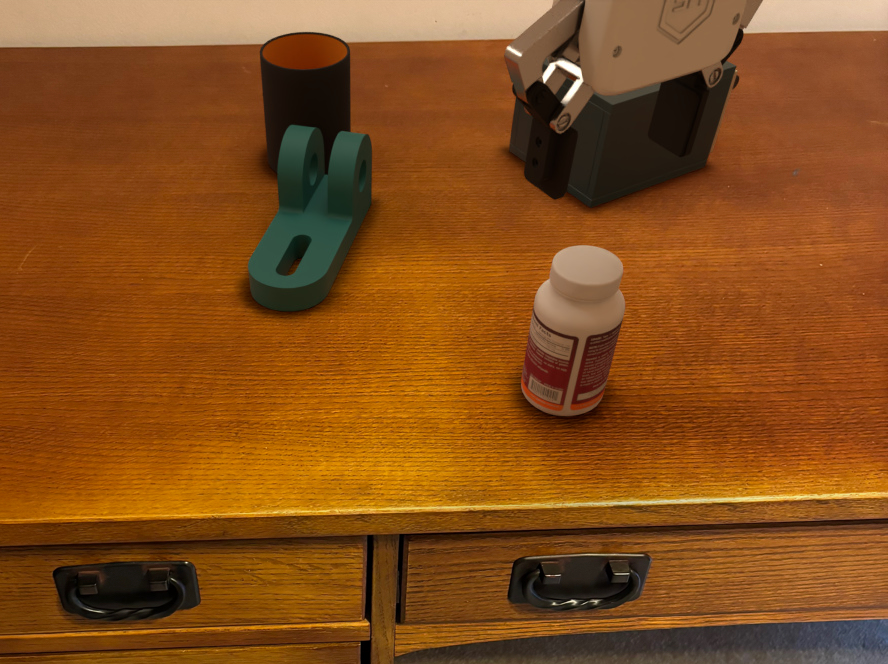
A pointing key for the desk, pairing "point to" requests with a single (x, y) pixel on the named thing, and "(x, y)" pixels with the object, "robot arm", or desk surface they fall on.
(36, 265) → the desk surface
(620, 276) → the pill bottle
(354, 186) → the bracket
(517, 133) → the dark grey box
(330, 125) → the mug
